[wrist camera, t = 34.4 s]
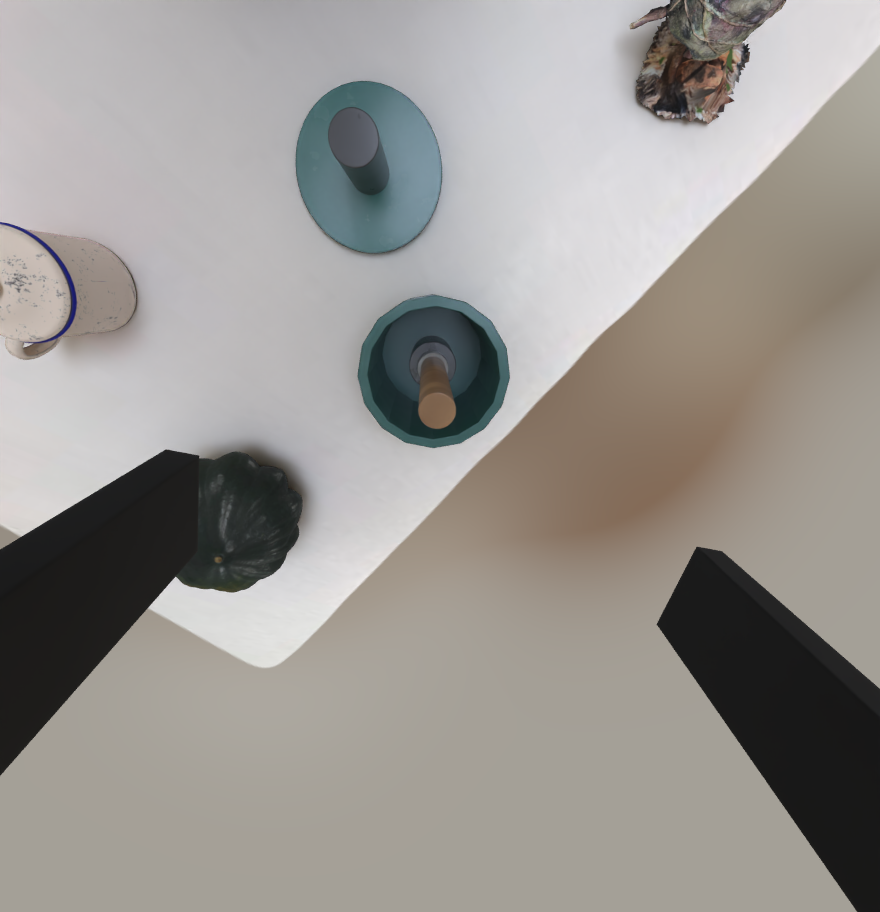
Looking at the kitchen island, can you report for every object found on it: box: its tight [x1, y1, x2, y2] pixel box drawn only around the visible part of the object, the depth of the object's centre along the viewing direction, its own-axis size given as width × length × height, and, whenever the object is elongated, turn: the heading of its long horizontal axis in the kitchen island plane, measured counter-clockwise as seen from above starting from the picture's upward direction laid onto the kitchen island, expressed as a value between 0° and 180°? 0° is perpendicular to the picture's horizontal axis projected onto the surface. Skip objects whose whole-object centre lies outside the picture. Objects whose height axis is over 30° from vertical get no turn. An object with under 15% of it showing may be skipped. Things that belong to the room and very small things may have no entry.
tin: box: [358, 294, 510, 448], centre depth 39 cm, size 12×12×13 cm
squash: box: [176, 452, 302, 592], centre depth 45 cm, size 14×15×15 cm
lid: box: [296, 81, 442, 253], centre depth 34 cm, size 13×13×10 cm
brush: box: [409, 336, 456, 429], centre depth 34 cm, size 4×4×22 cm
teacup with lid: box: [0, 222, 136, 360], centre depth 37 cm, size 12×9×12 cm
